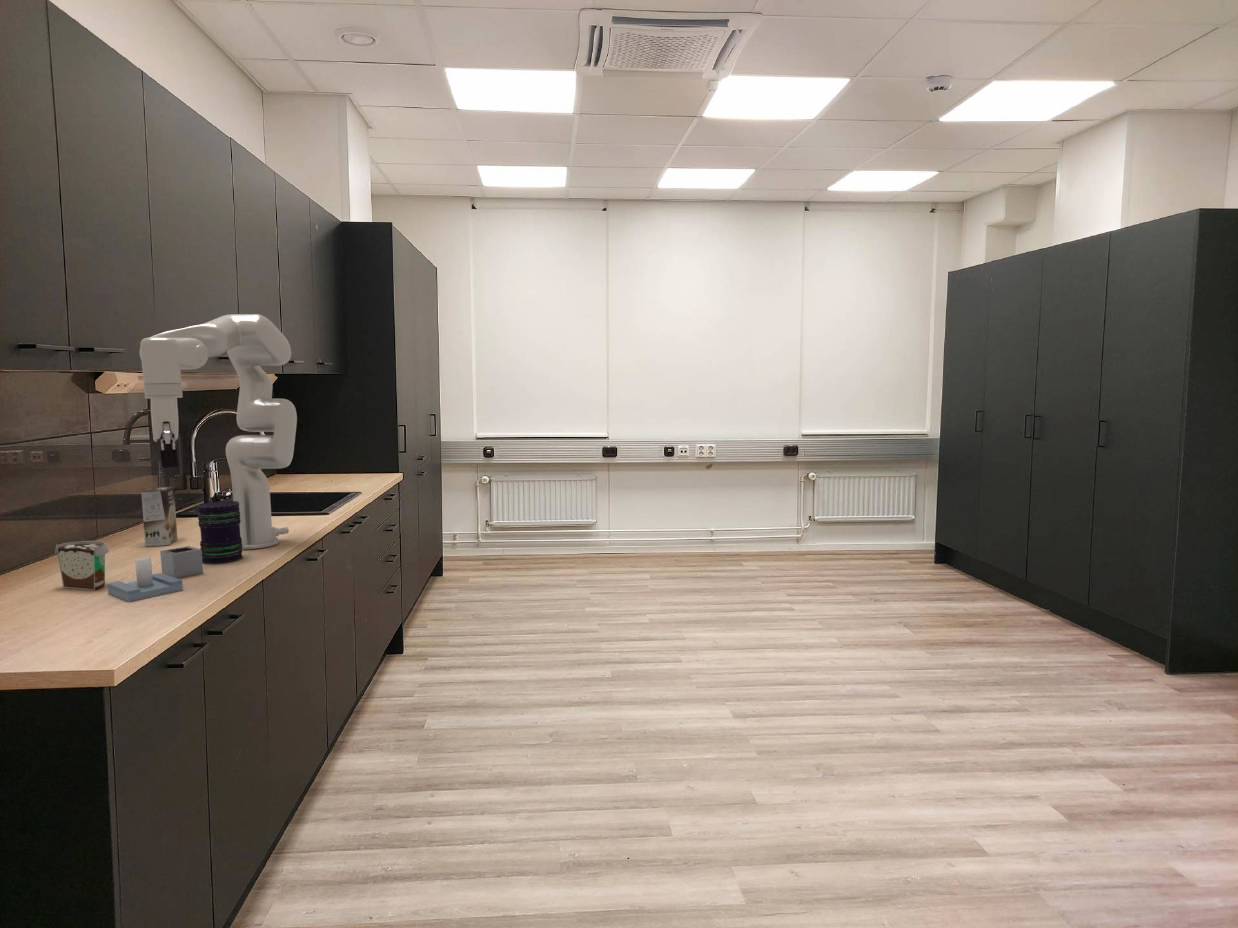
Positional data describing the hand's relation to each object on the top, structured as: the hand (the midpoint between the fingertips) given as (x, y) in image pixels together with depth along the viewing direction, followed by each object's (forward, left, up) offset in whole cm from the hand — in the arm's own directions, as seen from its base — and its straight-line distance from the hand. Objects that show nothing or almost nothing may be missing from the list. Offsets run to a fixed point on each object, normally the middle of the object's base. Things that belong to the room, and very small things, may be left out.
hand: (170, 465), depth 176 cm
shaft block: (+9, +5, -28) cm, 29 cm away
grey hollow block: (-3, -5, -28) cm, 28 cm away
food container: (+14, -12, -28) cm, 33 cm away
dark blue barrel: (-16, -12, -28) cm, 34 cm away
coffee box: (-16, -48, -28) cm, 58 cm away
